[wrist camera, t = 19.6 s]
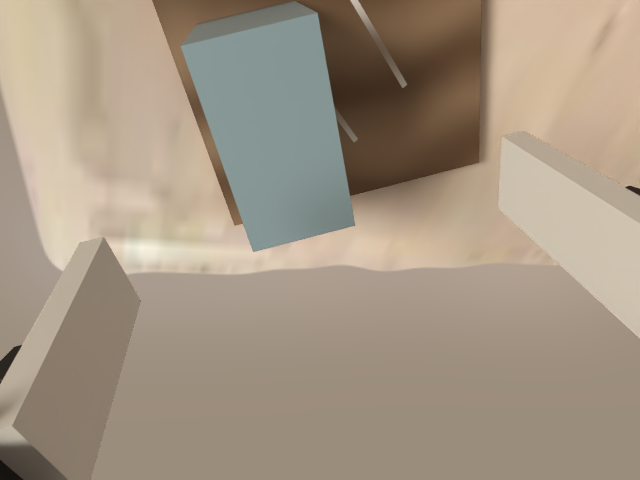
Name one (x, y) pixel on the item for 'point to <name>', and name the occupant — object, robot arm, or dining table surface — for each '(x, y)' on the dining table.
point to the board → (374, 82)
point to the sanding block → (273, 120)
